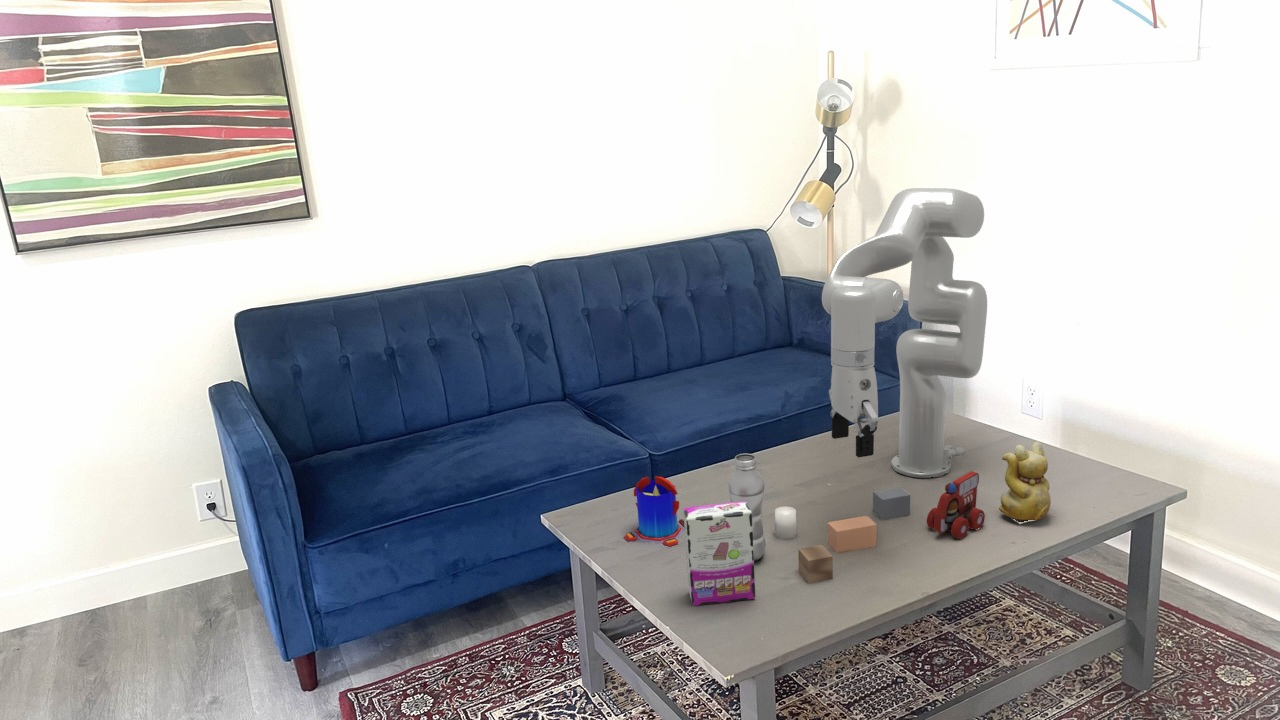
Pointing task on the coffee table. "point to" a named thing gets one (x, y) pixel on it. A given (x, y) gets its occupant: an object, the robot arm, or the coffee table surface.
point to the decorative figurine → (1026, 484)
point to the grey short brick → (891, 503)
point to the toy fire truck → (958, 507)
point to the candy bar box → (719, 553)
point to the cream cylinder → (785, 522)
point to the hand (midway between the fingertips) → (852, 446)
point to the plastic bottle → (749, 496)
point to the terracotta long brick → (852, 534)
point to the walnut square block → (815, 563)
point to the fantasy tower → (656, 512)
